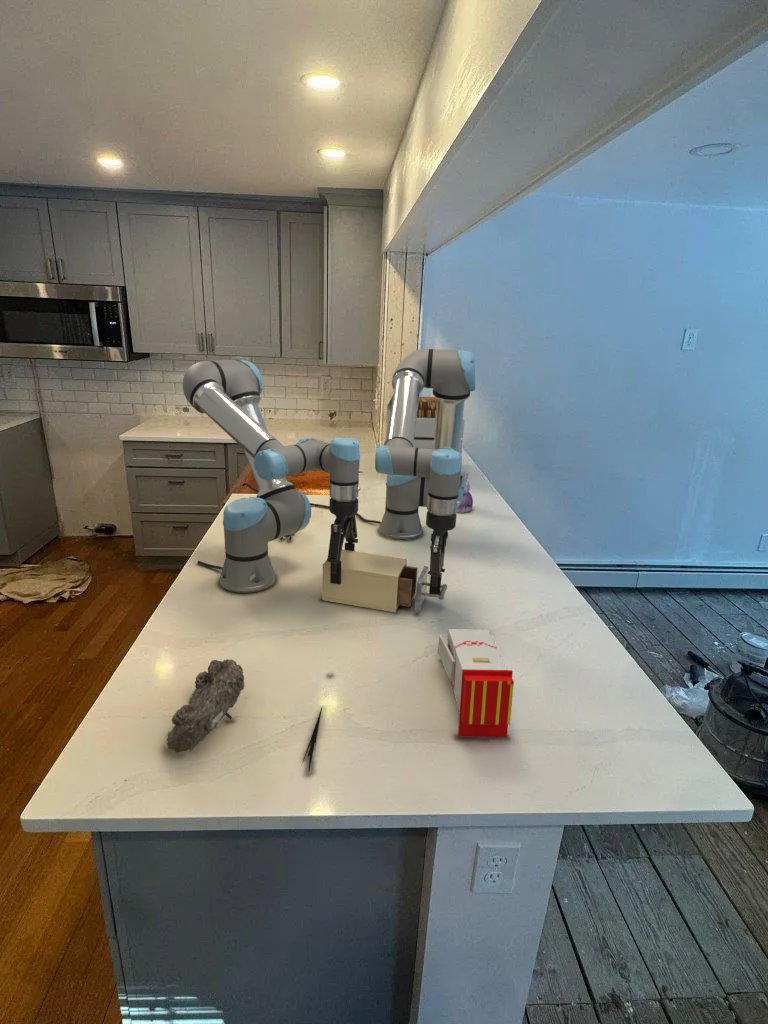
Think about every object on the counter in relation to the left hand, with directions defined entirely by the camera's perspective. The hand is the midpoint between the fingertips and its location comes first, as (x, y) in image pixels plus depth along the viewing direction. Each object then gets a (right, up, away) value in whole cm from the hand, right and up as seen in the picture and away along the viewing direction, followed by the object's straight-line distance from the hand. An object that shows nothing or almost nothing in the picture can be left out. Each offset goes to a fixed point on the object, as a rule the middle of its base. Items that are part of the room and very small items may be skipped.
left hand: (342, 573), depth 155 cm
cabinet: (+6, -6, +1) cm, 9 cm away
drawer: (+15, -7, -2) cm, 17 cm away
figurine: (+43, +18, +72) cm, 86 cm away
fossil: (-21, -22, -47) cm, 56 cm away
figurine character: (-22, +9, +39) cm, 46 cm away
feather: (-1, -23, -46) cm, 52 cm away
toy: (+29, -21, -36) cm, 51 cm away
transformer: (+29, +36, +120) cm, 129 cm away
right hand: (+25, -5, -5) cm, 26 cm away
